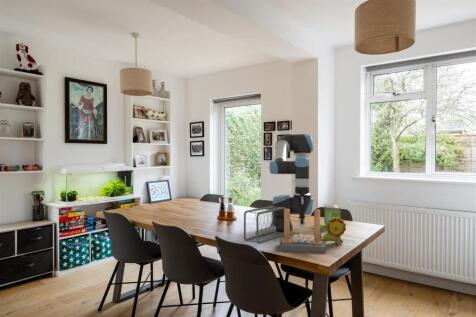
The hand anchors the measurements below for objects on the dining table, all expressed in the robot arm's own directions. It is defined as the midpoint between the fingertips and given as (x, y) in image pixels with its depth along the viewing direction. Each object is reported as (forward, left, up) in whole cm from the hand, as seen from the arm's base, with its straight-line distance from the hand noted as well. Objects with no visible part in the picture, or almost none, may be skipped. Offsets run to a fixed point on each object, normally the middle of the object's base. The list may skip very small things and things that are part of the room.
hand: (301, 229), depth 174 cm
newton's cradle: (-20, -21, -10) cm, 31 cm away
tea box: (-57, +23, -10) cm, 62 cm away
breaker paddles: (0, 0, -7) cm, 7 cm away
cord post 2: (0, +8, -7) cm, 11 cm away
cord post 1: (0, -8, -7) cm, 11 cm away
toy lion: (-12, +17, -10) cm, 23 cm away
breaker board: (0, 0, -10) cm, 10 cm away
